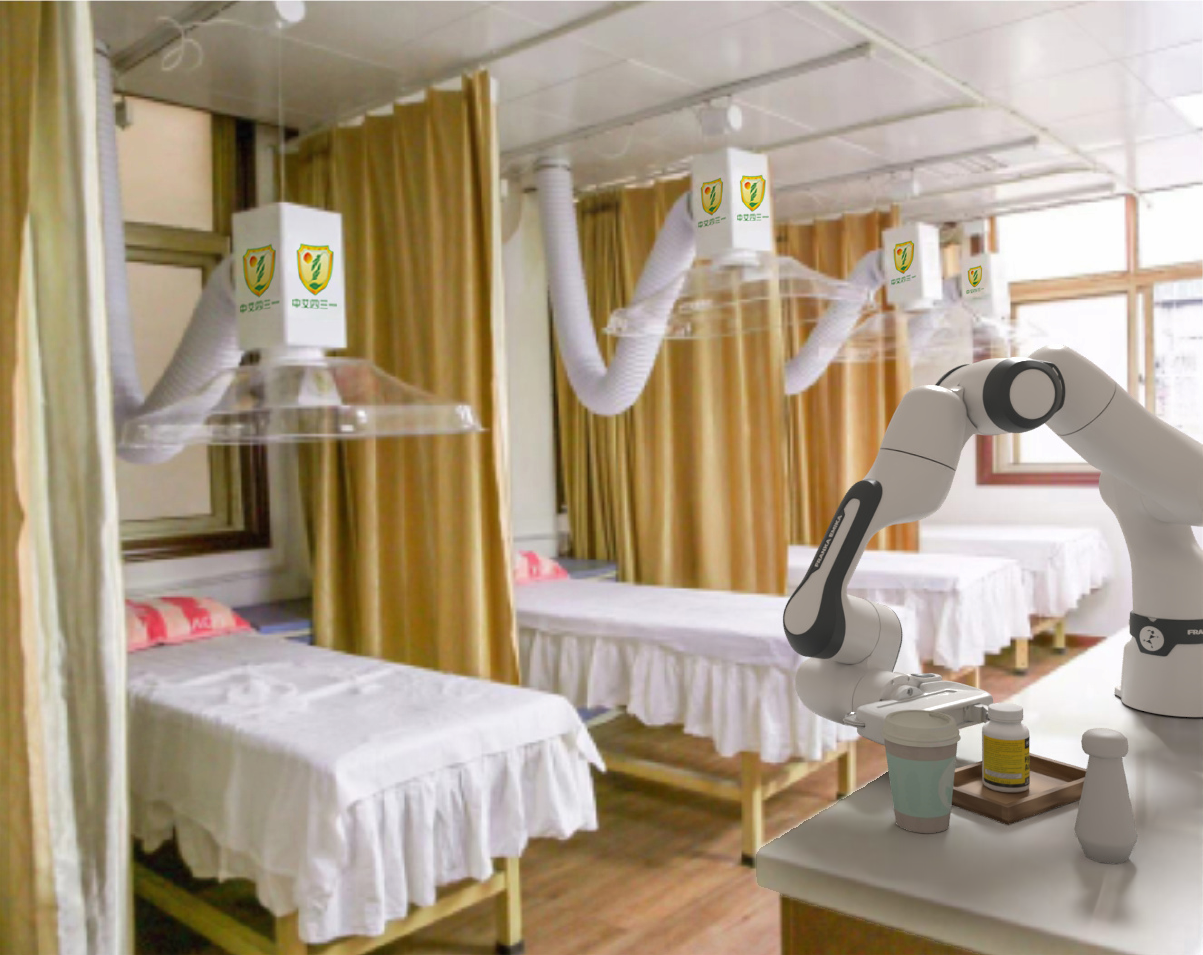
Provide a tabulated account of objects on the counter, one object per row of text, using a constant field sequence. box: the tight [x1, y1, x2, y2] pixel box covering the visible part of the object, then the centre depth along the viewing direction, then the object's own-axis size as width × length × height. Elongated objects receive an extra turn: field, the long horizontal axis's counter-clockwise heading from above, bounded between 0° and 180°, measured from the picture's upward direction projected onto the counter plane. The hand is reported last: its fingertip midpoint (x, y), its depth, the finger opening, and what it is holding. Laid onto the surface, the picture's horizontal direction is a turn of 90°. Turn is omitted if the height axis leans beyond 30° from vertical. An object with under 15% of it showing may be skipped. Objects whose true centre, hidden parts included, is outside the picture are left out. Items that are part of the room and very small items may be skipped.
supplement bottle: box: [981, 702, 1031, 793], centre depth 127 cm, size 5×5×10 cm
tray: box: [951, 752, 1087, 826], centre depth 127 cm, size 18×12×2 cm, turn 122°
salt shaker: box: [1073, 727, 1138, 865], centre depth 108 cm, size 6×6×13 cm
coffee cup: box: [881, 710, 961, 834], centre depth 118 cm, size 8×8×12 cm
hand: (976, 728), depth 131 cm, fingers open, 8 cm apart
